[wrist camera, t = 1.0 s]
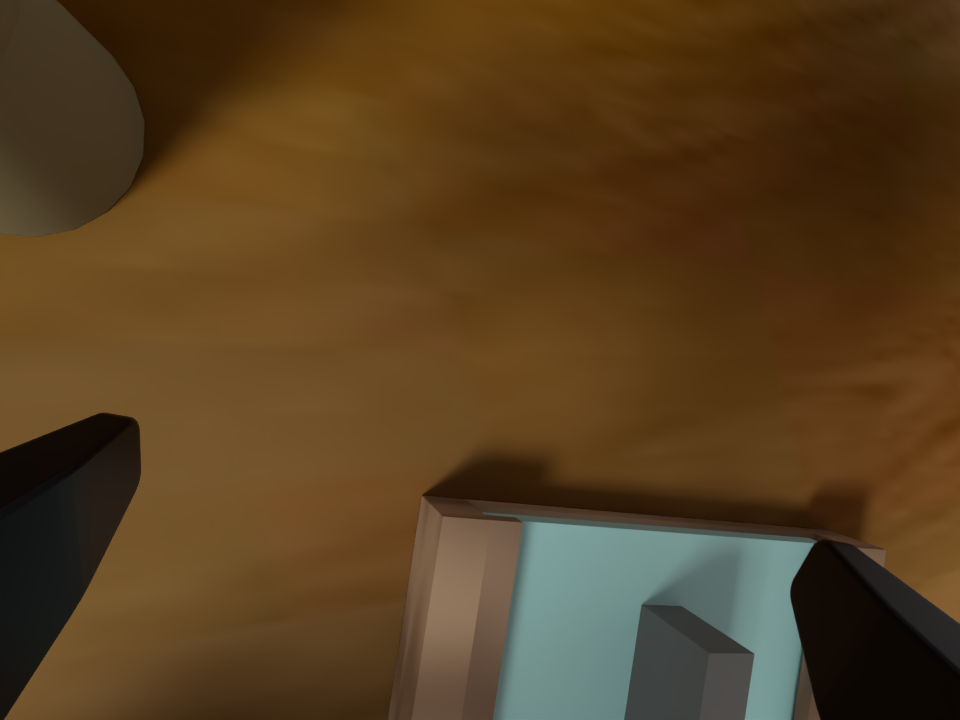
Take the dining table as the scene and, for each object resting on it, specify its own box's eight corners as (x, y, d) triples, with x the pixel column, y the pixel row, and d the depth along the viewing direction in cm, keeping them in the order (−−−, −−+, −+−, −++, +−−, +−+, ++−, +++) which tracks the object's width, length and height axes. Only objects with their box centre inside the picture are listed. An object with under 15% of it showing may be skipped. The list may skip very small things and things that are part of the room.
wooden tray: (785, 825, 27) (837, 875, 25) (365, 863, 22) (379, 932, 19) (829, 529, 27) (886, 549, 25) (422, 495, 22) (443, 516, 19)
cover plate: (770, 796, 26) (869, 887, 22) (433, 821, 22) (475, 939, 17) (808, 537, 26) (915, 577, 22) (480, 512, 22) (534, 555, 17)
